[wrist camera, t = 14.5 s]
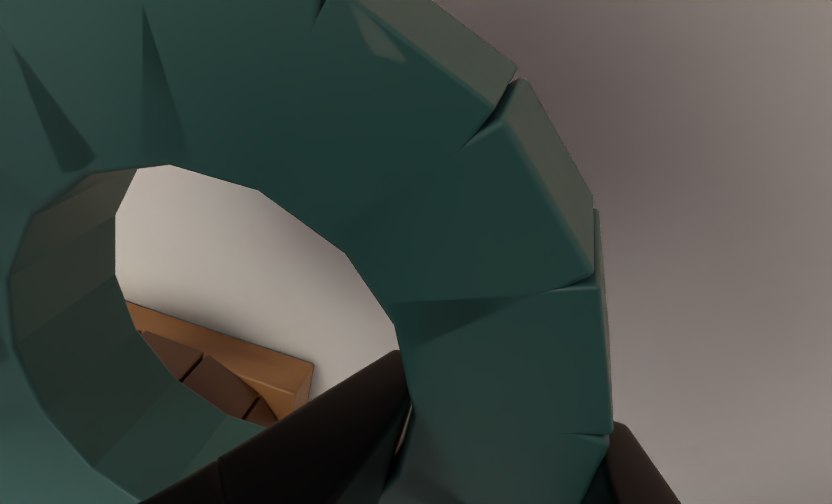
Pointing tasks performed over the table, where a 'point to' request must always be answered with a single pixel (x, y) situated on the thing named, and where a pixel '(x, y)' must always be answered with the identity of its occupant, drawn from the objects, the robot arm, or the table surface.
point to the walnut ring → (211, 380)
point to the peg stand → (237, 359)
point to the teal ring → (318, 209)
